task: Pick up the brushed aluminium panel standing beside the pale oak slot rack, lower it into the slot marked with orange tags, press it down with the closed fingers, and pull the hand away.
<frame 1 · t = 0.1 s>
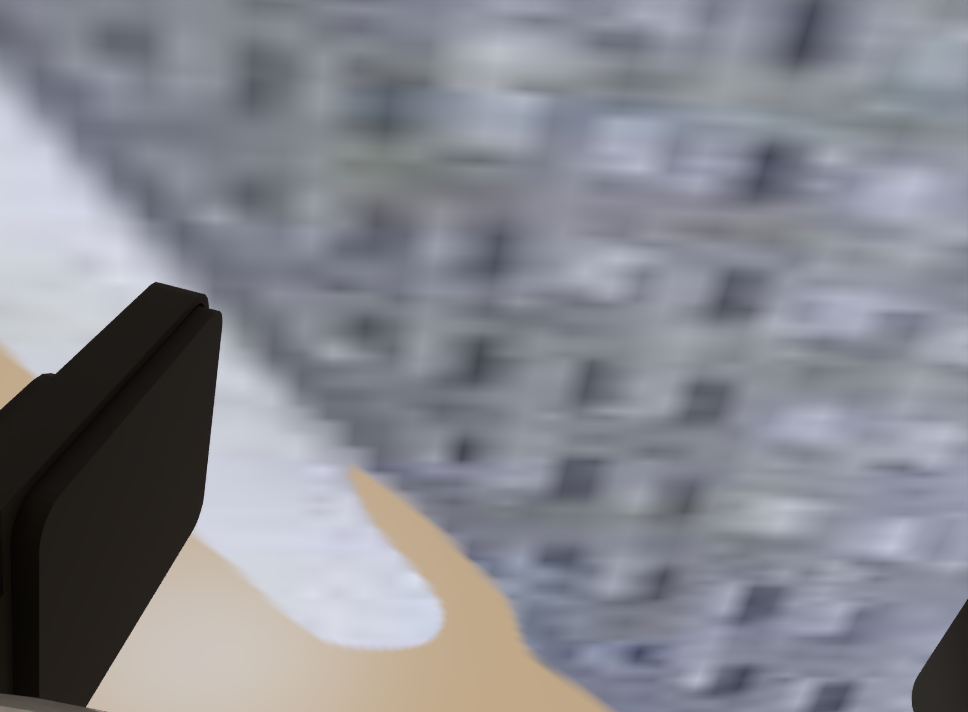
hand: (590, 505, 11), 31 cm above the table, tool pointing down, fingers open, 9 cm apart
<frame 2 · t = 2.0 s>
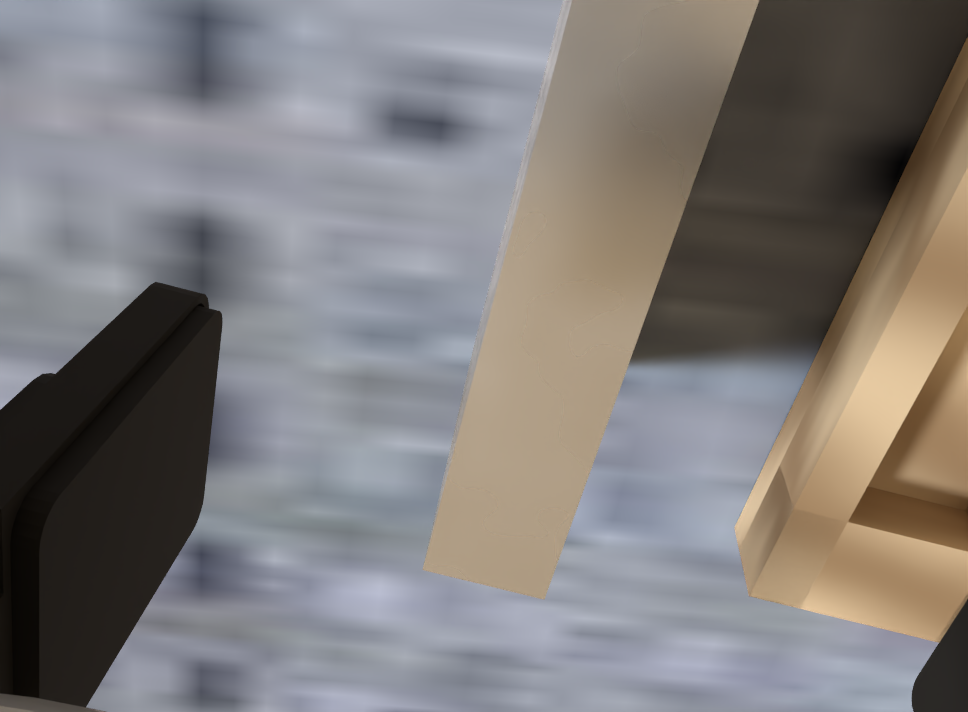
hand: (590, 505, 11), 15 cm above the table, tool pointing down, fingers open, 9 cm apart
blanking panel: (583, 120, 23), on the table
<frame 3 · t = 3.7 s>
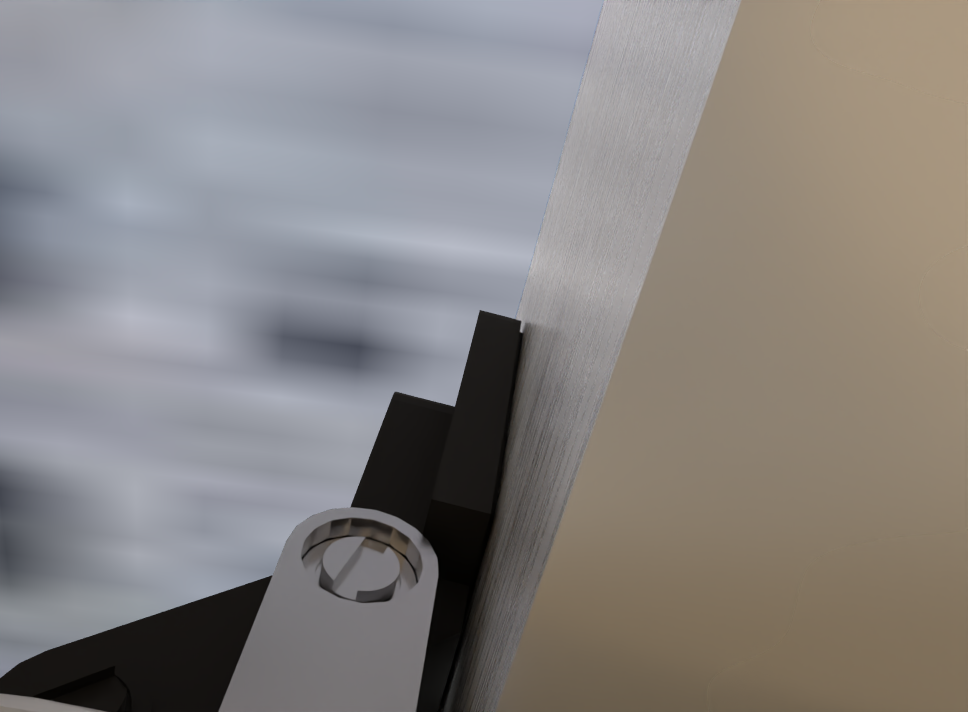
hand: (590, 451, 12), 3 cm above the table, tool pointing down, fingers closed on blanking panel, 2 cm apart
blanking panel: (591, 352, 14), on the table, touching gripper
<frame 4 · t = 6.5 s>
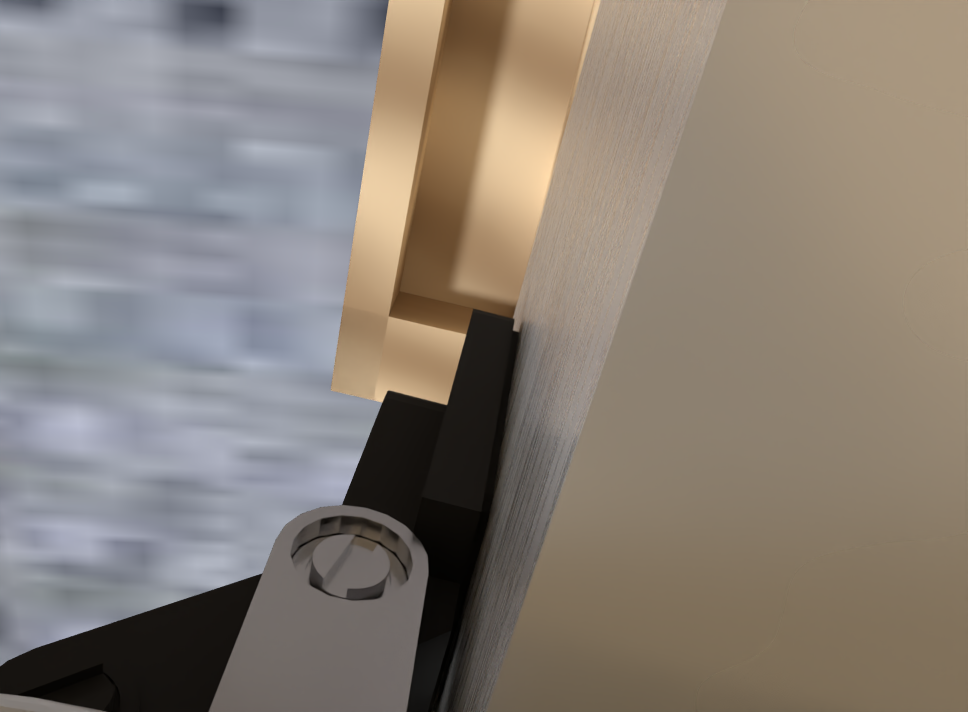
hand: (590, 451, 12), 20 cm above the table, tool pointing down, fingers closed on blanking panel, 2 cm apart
rack: (680, 112, 29), on the table
blanking panel: (587, 356, 14), point 17 cm above the table, touching gripper
when the fingers open (4 cm above the table, at t = 9.5 s): blanking panel stays where it is, resting on rack.
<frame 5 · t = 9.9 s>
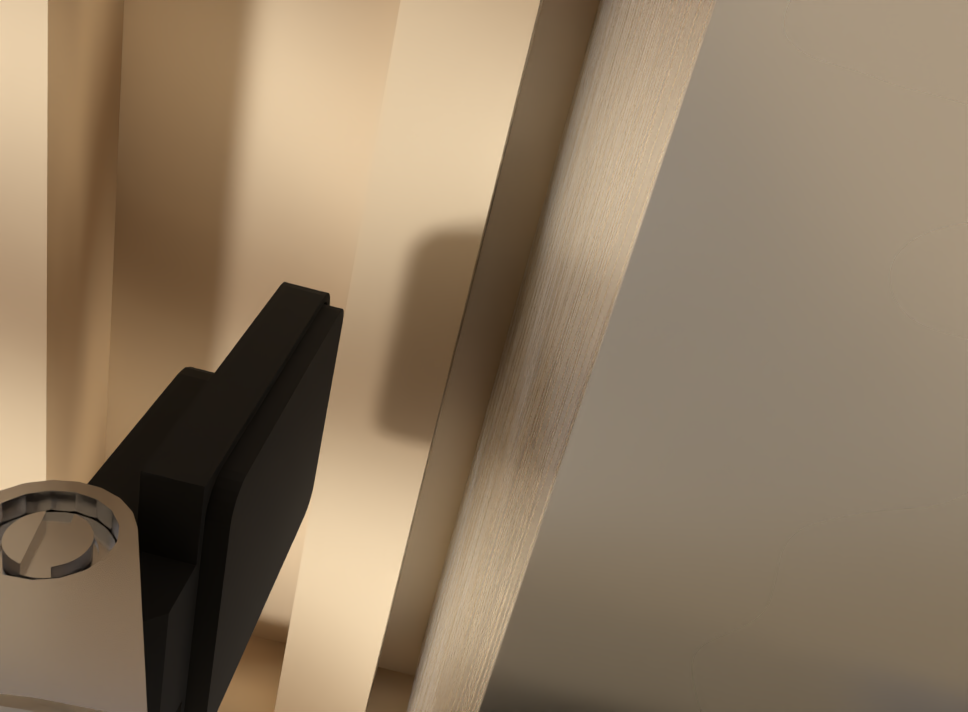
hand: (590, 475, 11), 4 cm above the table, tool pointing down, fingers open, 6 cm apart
rack: (263, 236, 15), on the table
blanking panel: (587, 348, 14), point 1 cm above the table, touching rack
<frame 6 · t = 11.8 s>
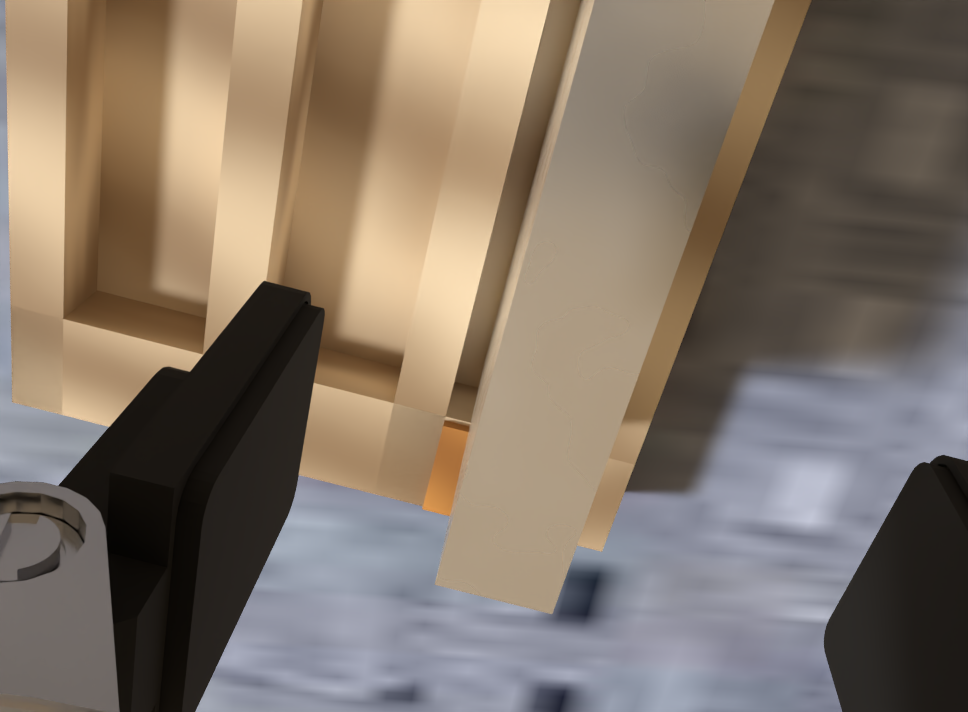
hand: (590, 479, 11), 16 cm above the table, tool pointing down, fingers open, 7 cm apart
rack: (394, 90, 25), on the table
blanking panel: (590, 151, 24), point 1 cm above the table, touching rack
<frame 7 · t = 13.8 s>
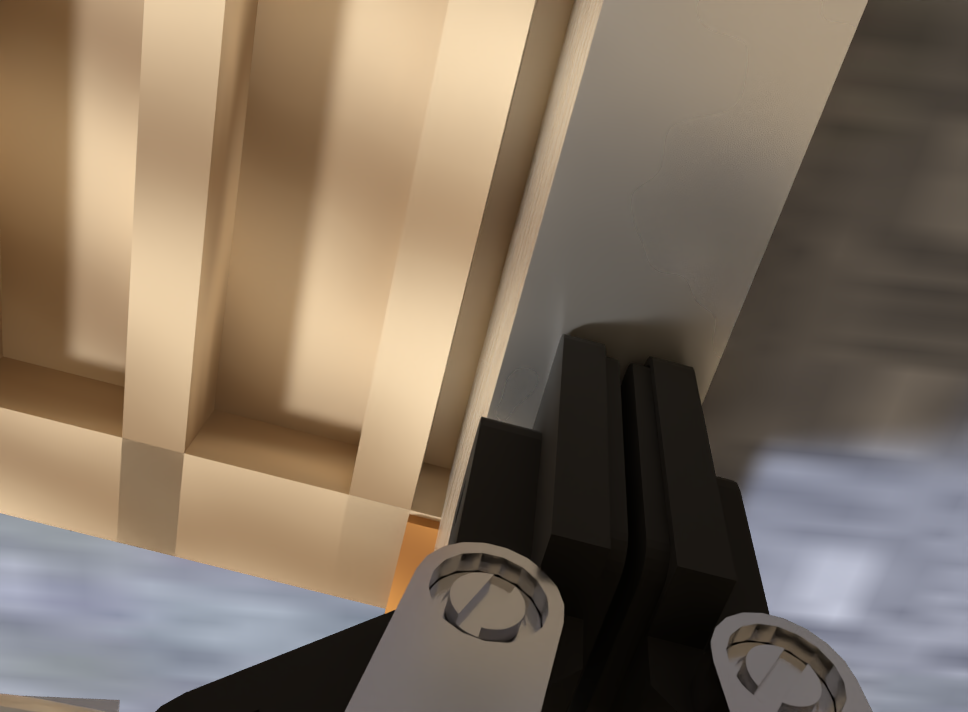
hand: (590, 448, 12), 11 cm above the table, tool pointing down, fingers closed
rack: (347, 125, 21), on the table
blanking panel: (580, 200, 20), point 1 cm above the table, touching gripper, rack
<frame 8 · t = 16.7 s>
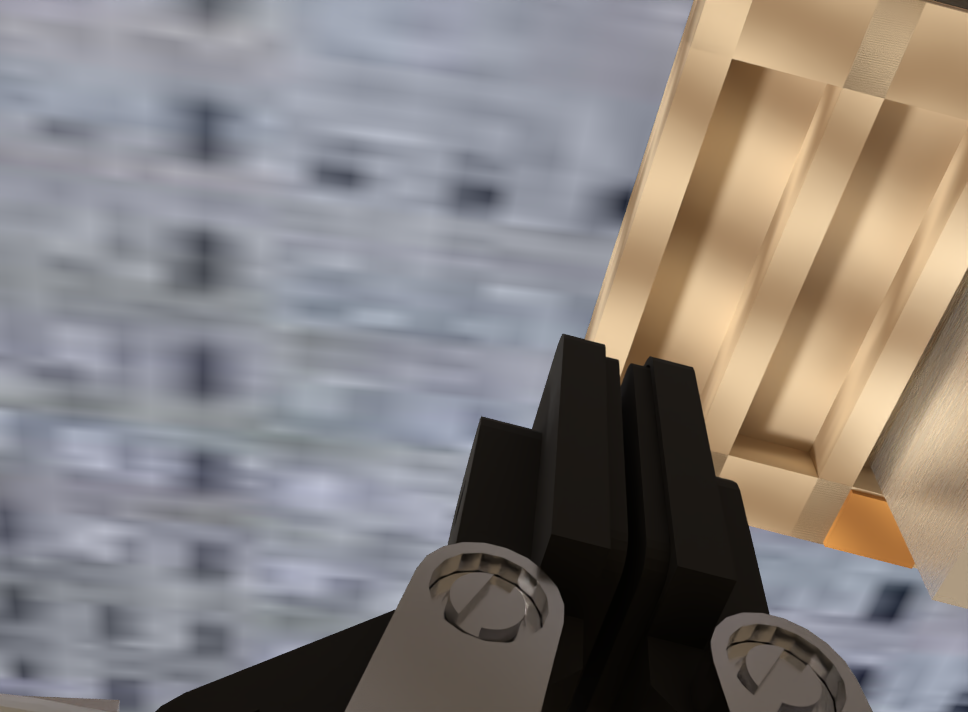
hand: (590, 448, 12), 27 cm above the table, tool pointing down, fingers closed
rack: (830, 277, 39), on the table
blanking panel: (964, 321, 38), point 1 cm above the table, touching rack
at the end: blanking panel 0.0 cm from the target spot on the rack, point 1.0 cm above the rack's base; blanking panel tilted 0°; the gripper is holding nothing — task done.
